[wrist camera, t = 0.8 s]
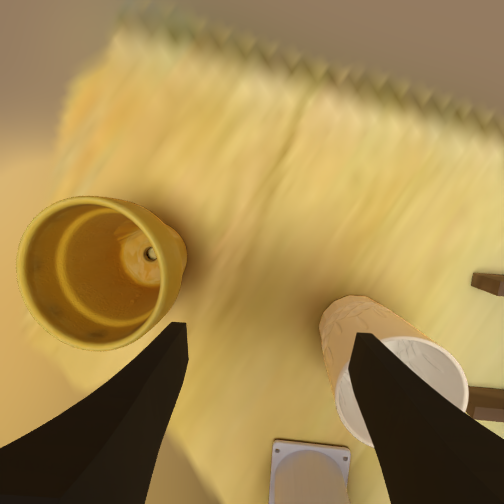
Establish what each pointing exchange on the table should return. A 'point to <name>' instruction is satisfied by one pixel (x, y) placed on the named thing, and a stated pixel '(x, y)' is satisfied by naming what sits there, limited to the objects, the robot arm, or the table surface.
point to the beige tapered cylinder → (396, 340)
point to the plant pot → (99, 271)
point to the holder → (480, 399)
